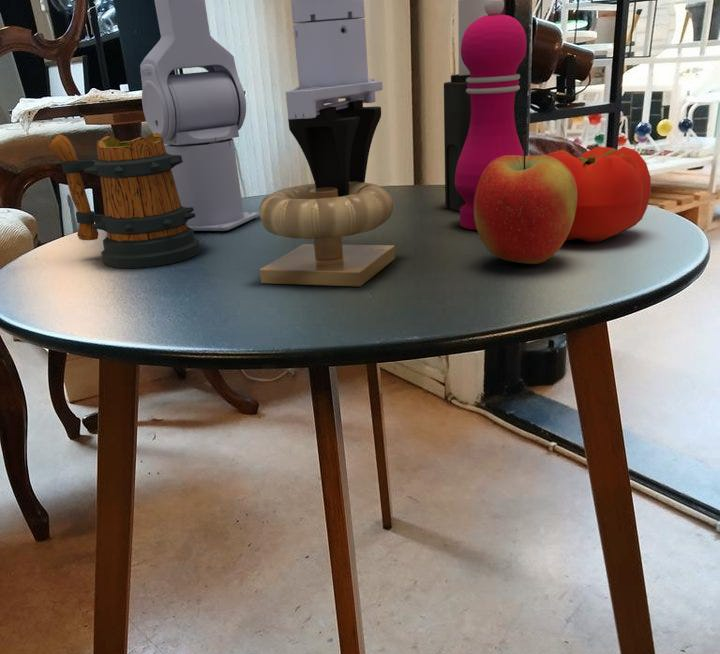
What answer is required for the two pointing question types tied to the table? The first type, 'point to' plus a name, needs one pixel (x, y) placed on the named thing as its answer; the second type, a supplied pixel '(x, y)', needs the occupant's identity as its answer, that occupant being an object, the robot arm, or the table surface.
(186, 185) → the robot arm
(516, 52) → the pepper mill
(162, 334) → the table surface
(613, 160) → the tomato
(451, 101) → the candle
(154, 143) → the mug
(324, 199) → the ring
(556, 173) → the apple
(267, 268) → the peg stand
